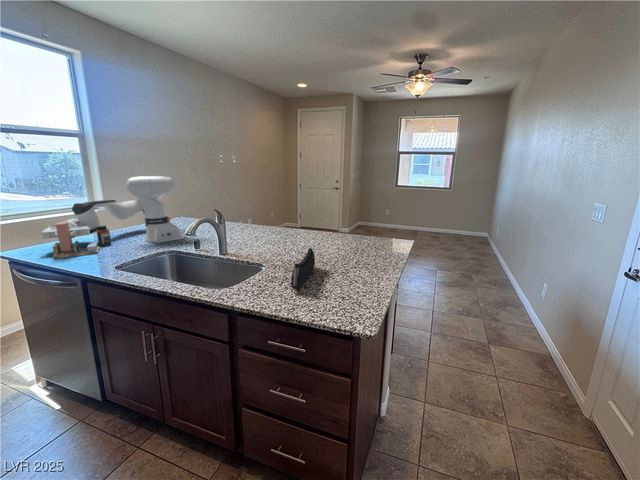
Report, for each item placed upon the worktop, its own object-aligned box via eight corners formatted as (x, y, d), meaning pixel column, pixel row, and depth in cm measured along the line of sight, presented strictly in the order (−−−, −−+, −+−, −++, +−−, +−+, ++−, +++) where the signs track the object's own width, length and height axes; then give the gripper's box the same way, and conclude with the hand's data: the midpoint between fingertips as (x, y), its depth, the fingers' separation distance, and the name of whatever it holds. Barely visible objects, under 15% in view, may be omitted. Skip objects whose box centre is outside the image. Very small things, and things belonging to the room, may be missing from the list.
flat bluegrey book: (98, 247, 174) (97, 242, 173) (96, 251, 167) (95, 246, 166) (90, 247, 172) (89, 243, 171) (88, 252, 165) (87, 246, 164)
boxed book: (73, 247, 167) (68, 221, 163) (71, 250, 162) (65, 223, 158) (63, 248, 165) (58, 222, 161) (61, 251, 160) (55, 224, 156)
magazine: (309, 247, 150) (293, 247, 121) (316, 248, 150) (301, 247, 120) (307, 283, 150) (290, 291, 120) (313, 283, 149) (298, 292, 120)
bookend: (89, 248, 171) (87, 239, 169) (87, 252, 164) (85, 243, 163) (77, 249, 168) (75, 240, 167) (75, 253, 162) (73, 244, 160)
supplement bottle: (97, 244, 183) (94, 225, 180) (109, 242, 187) (106, 224, 184) (100, 246, 179) (97, 227, 176) (112, 244, 183) (109, 225, 180)
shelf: (99, 248, 175) (97, 238, 173) (97, 253, 166) (95, 242, 165) (57, 253, 166) (55, 242, 164) (53, 258, 158) (50, 246, 156)
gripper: (93, 233, 178) (89, 239, 166) (47, 237, 168) (40, 243, 157) (91, 222, 176) (87, 227, 165) (44, 226, 166) (37, 231, 155)
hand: (64, 235), depth 160 cm, fingers closed on boxed book, 4 cm apart
